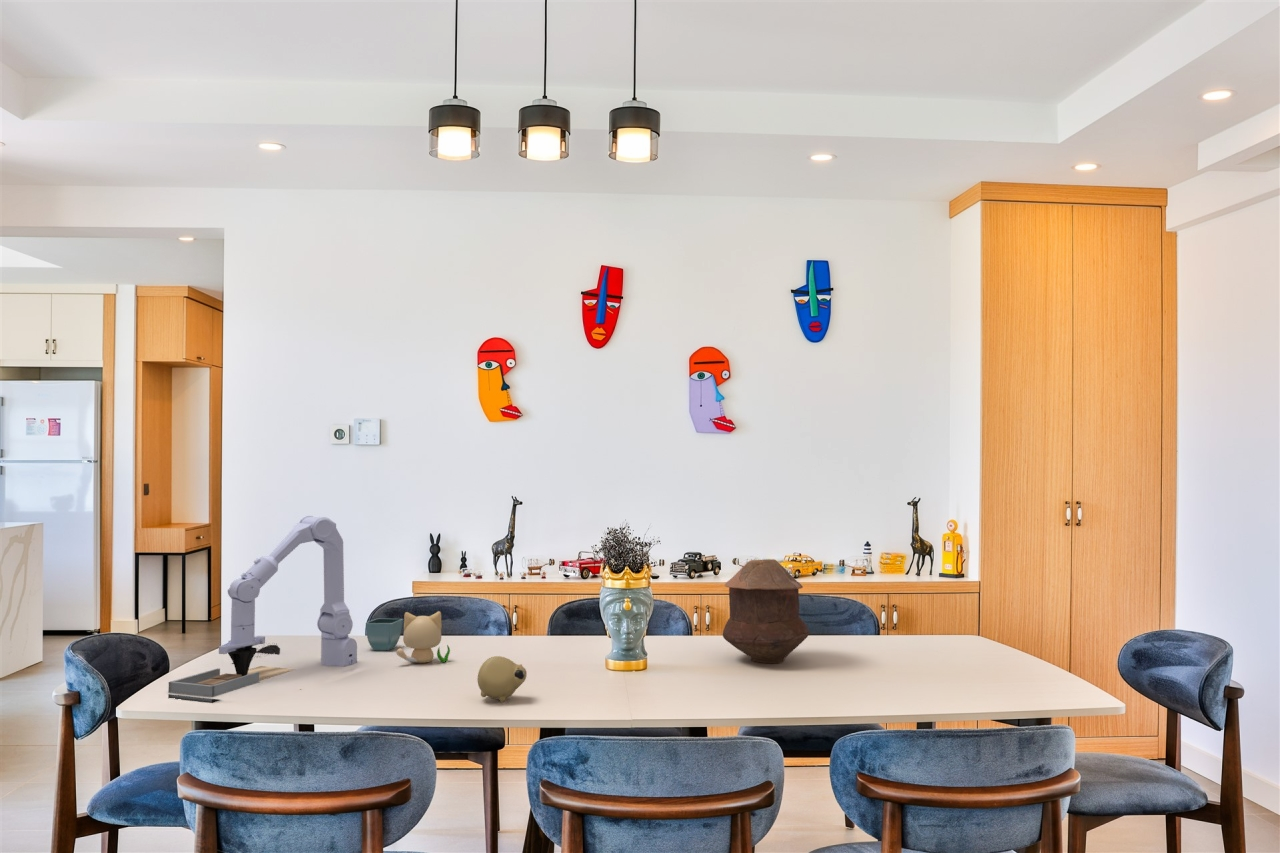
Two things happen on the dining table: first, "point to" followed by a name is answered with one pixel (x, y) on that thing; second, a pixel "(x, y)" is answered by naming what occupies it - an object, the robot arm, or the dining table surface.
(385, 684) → the dining table surface
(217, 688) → the tray
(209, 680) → the tile
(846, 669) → the dining table surface
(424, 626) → the kitten
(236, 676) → the brown wooden block
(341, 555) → the robot arm
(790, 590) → the pottery vessel
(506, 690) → the toy pig
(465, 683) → the dining table surface
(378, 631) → the flower pot
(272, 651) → the hairbrush
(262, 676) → the oak board
